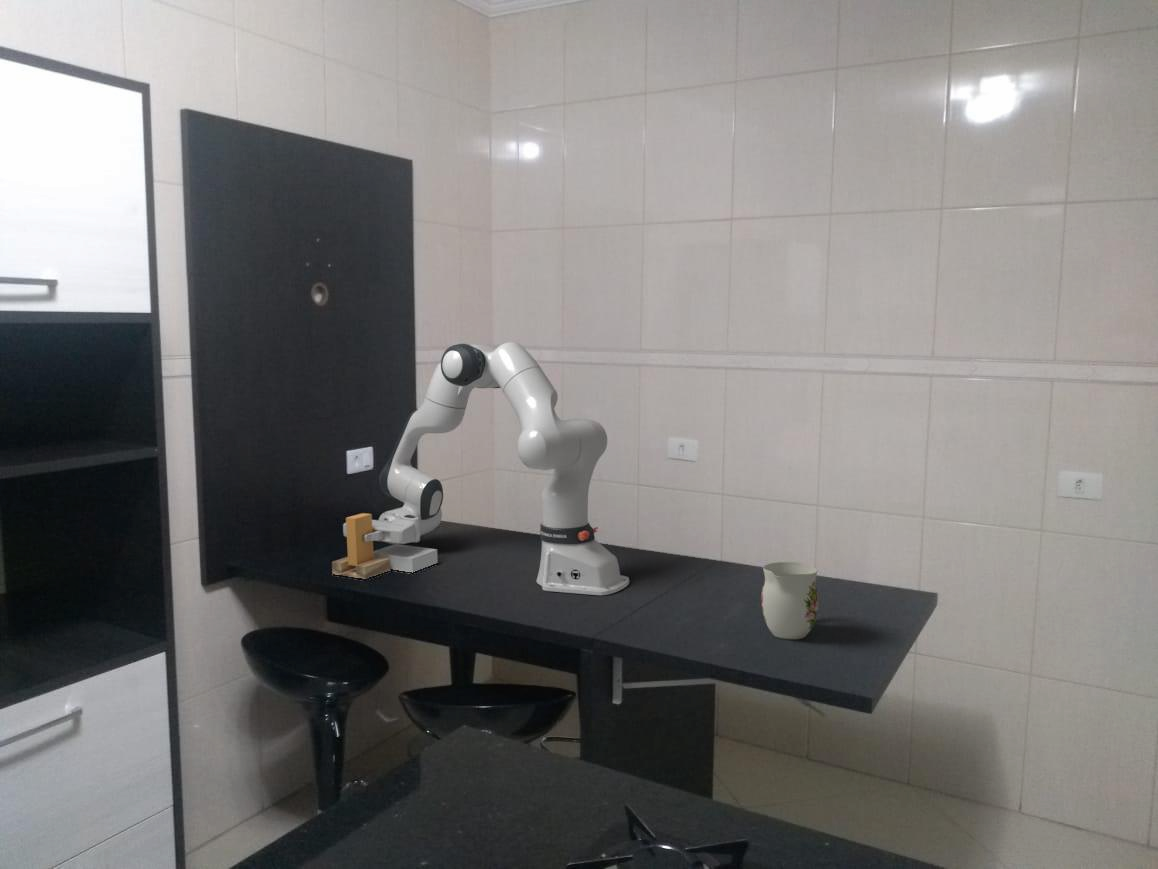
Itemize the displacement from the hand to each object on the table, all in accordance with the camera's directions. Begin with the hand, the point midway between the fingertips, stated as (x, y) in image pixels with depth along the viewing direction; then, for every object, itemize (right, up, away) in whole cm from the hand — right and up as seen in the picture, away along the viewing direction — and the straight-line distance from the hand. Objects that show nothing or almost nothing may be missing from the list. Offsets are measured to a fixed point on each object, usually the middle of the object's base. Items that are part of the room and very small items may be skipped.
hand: (357, 537), depth 219 cm
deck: (+10, -8, +9) cm, 16 cm away
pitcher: (+98, -14, -46) cm, 109 cm away
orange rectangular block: (+1, -7, +2) cm, 7 cm away
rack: (+1, -9, +2) cm, 10 cm away
